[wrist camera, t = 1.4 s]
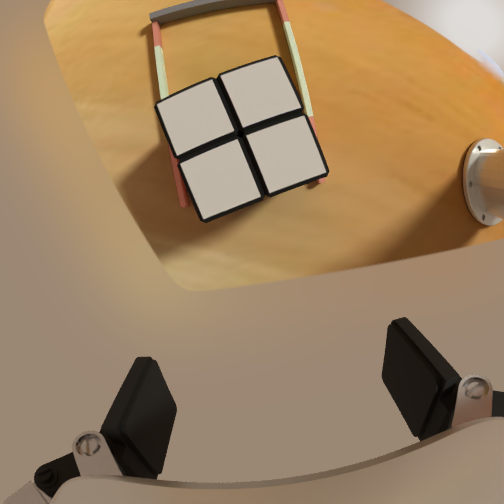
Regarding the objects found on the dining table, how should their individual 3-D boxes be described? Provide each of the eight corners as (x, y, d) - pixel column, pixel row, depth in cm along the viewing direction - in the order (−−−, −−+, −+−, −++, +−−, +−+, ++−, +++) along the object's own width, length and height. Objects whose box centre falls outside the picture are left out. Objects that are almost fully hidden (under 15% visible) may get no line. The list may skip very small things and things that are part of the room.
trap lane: (278, -4, 22) (280, -12, 20) (322, 181, 28) (327, 182, 26) (154, 20, 22) (149, 13, 21) (183, 206, 29) (179, 208, 27)
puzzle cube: (217, 207, 29) (201, 225, 20) (182, 123, 27) (150, 102, 17) (306, 173, 28) (332, 175, 19) (270, 88, 26) (279, 51, 16)
